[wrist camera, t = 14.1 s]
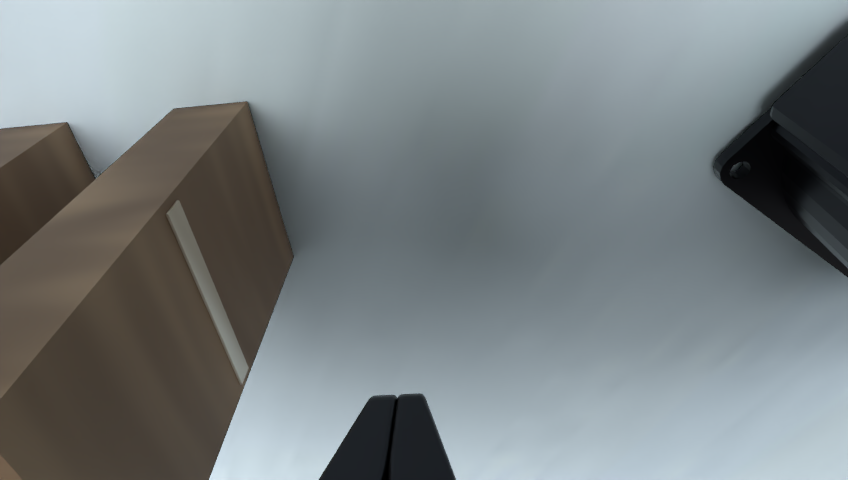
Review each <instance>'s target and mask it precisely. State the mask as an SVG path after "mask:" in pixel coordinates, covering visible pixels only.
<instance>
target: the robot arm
mask: <svg viewBox="0 0 848 480" xmlns="http://www.w3.org/2000/svg"><path fill="white" fill-rule="evenodd" d="M738 162H743V165H742V166H741V168H740V169H738V170H737V171H735V172H730V170H731V168H732V167H733V165H735V164H737V163H738ZM714 173H715V174H716V175H717V177H718V178H719V179H720V180H721V181H722V182H723V184H724V185H726V186H727V187H728V188H730V189H731V190H732V191H734V192H735V193H736V194H738V195H739V196H740V197H742V198H743V199H744V200H746V201H747V202H748V203H750V204H751V205H752V206H754V207H755V208H756V209H758V210H759V211H760V212H762V213H763V214H764V215H766V216H767V217H768V218H770V219H771V220H772V221H774V222H775V223H776V224H778V225H779V226H780V227H782V228H783V229H784V230H786V231H787V232H788V233H790V234H791V235H792V236H794V237H795V238H796V239H798V240H799V241H800V242H802V243H803V244H804V245H806V246H807V247H808V248H810V249H811V250H812V251H814V252H815V253H816V254H818V255H819V256H820V257H822V258H823V259H824V260H826V261H827V262H828V263H830V264H831V265H832V266H834V267H835V268H836V269H838V270H839V271H840V272H842V273H843V274H844V275H846V276H847V277H848V35H847V36H846V37H845V38H844V39H843V40H842V41H841V42H839V43H838V44H837V45H836V46H835V47H834V48H833V49H832V50H831V51H830V52H829V53H828V54H826V55H825V56H824V57H823V58H822V59H821V60H820V61H819V62H818V63H817V64H816V65H815V66H813V67H812V68H811V69H810V70H809V71H808V72H807V73H806V74H805V75H804V76H803V77H802V78H800V79H799V80H798V81H797V82H796V83H795V84H794V85H793V86H792V87H791V88H790V89H789V90H787V91H786V92H785V93H784V94H783V95H782V96H781V97H780V98H779V99H778V100H777V101H776V102H775V103H774V104H773V106H772V107H771V108H770V109H769V110H768V111H767V112H766V113H765V114H764V115H762V116H761V117H760V118H759V119H758V120H757V121H756V122H755V123H754V124H753V125H752V126H751V127H749V128H748V129H747V130H746V131H745V132H744V133H743V134H742V135H741V136H740V137H739V138H738V139H736V140H735V141H734V142H733V143H732V144H731V145H730V146H729V147H728V148H727V149H726V150H724V151H723V152H722V153H721V154H720V156H719V157H718V158H717V159H716V161H715V164H714ZM319 480H456V478H455V476H454V473H453V470H452V468H451V465H450V462H449V460H448V457H447V454H446V452H445V449H444V446H443V444H442V441H441V438H440V436H439V433H438V430H437V428H436V425H435V422H434V420H433V417H432V414H431V412H430V409H429V406H428V404H427V401H426V399H425V396H424V395H423V394H420V393H418V394H402V395H400V396H399V397H398V398H397V397H396V396H395V395H379V396H373V397H371V398H370V399H369V400H368V402H367V403H366V405H365V406H364V408H363V409H362V411H361V413H360V414H359V416H358V417H357V419H356V421H355V422H354V424H353V426H352V427H351V429H350V430H349V432H348V434H347V435H346V437H345V438H344V440H343V442H342V443H341V445H340V446H339V448H338V450H337V451H336V453H335V454H334V456H333V458H332V459H331V461H330V463H329V464H328V466H327V467H326V469H325V471H324V472H323V474H322V475H321V477H320V479H319Z"/></svg>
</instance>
